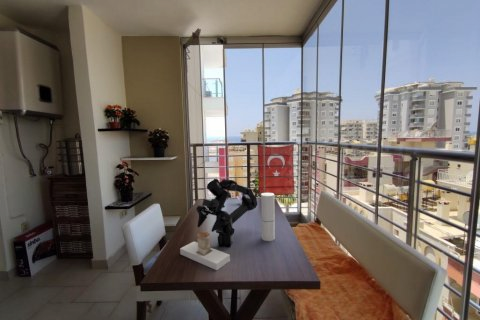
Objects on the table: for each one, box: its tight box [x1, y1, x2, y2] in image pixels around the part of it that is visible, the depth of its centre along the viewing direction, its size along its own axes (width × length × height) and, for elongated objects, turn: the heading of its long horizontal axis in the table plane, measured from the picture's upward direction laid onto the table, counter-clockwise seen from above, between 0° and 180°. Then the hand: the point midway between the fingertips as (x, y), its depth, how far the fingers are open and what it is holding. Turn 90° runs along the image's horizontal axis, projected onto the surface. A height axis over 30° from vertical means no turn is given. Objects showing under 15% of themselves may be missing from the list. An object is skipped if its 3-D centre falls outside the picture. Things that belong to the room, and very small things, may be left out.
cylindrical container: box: [260, 192, 276, 242], centre depth 127 cm, size 7×7×25 cm
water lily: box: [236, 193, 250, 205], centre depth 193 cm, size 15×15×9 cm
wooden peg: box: [196, 230, 211, 256], centre depth 110 cm, size 4×4×12 cm
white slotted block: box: [179, 241, 231, 271], centre depth 110 cm, size 9×24×3 cm, turn 53°
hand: (204, 229), depth 110 cm, fingers open, 9 cm apart
